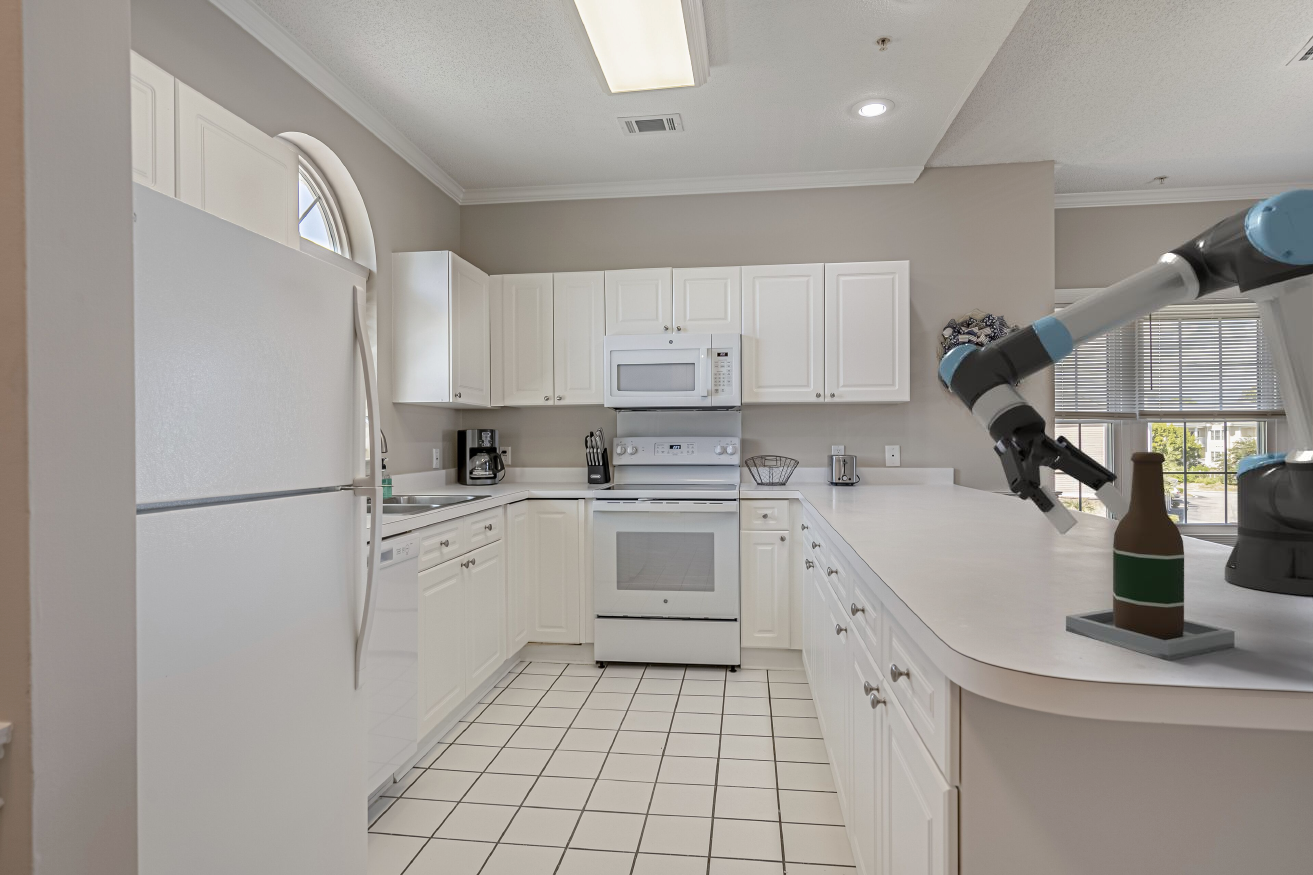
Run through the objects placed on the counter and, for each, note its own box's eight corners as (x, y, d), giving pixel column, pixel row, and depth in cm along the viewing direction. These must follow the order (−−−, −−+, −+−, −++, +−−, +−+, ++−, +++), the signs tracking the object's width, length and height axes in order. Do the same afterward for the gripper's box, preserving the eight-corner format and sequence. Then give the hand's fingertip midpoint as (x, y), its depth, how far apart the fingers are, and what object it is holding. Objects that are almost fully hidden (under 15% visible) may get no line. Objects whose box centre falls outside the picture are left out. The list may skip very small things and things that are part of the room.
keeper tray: (1128, 619, 96) (1128, 606, 96) (1234, 646, 84) (1234, 631, 84) (1066, 630, 92) (1066, 615, 92) (1168, 660, 80) (1168, 643, 80)
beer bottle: (1158, 625, 92) (1159, 451, 91) (1199, 643, 84) (1200, 453, 84) (1099, 624, 92) (1099, 451, 92) (1134, 641, 85) (1135, 453, 84)
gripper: (1047, 435, 114) (1139, 535, 100) (937, 436, 104) (1022, 547, 91) (1078, 403, 109) (1178, 504, 96) (965, 401, 100) (1059, 513, 86)
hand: (1102, 525), depth 93 cm, fingers open, 13 cm apart
